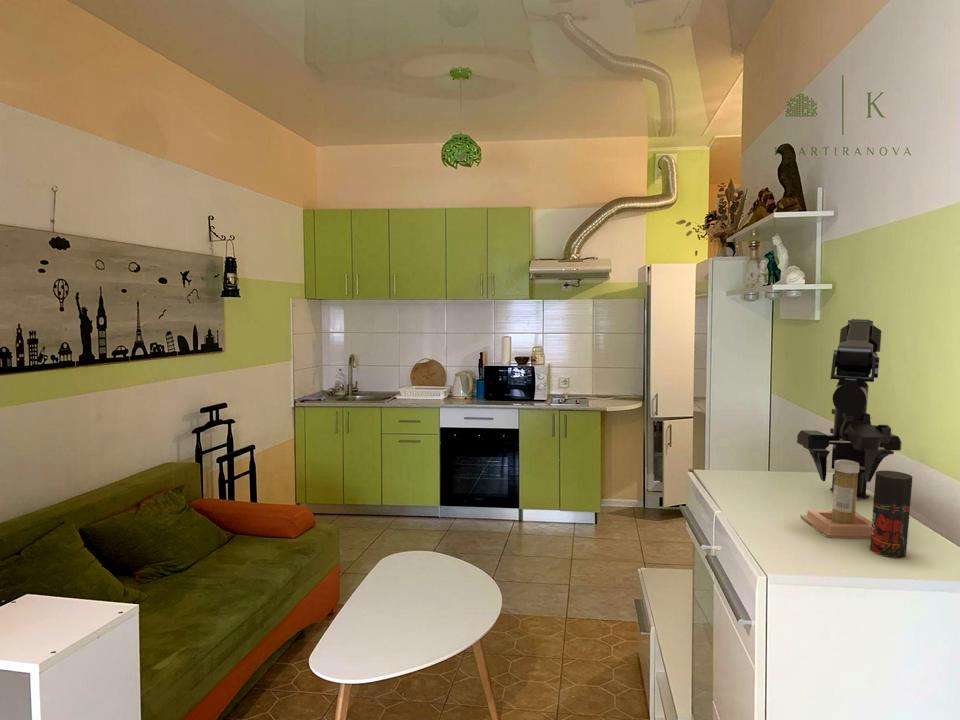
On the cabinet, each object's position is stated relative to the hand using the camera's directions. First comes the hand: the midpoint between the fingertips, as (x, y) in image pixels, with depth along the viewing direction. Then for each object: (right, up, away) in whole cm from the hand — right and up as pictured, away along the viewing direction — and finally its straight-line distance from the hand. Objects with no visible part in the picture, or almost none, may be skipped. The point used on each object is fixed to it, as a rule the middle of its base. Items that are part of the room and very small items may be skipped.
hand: (845, 481), depth 142 cm
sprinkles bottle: (0, -10, +1) cm, 10 cm away
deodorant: (+2, -12, -12) cm, 17 cm away
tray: (0, -10, +1) cm, 10 cm away
